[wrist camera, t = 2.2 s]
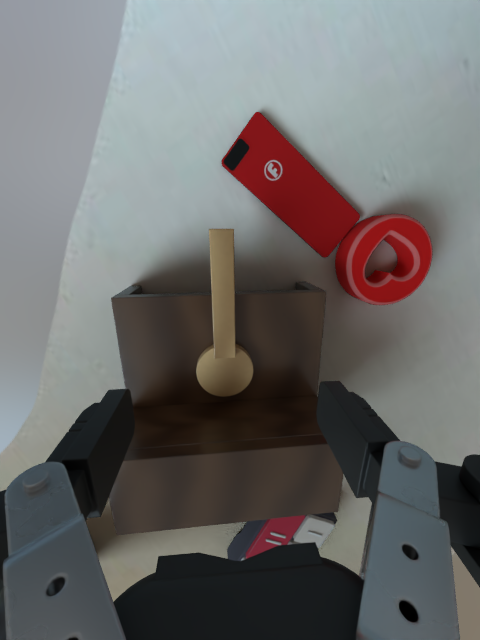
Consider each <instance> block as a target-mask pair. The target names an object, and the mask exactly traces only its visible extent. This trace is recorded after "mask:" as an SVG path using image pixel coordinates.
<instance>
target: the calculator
mask: <svg viewBox="0 0 480 640" xmlns="http://www.w3.org/2000/svg"><path fill="white" fill-rule="evenodd" d="M336 522H337V519H336V517H335V515H334V513H333V512H330V513H320V514H311V515H302V516H292V517H283V518H274V519H265V520H255V521H248V522H247V523H246V525H245V526H244V528H243V530H242V531H241V533H239V534H237V535H236V536H235V538H234V539H233V541H232V543H231V544H230V546H229V547H228V549H227V552H228V559H230V560H235V561H242V560H245V559H247V558H250V557H252V556H254V555H257V554H259V553H262V552H264V551H266V550H269V549H271V548H274V547H276V546H278V545H289V544H300V543H311V542H316V545H317V548H319V547H320V546H321V545H322V544H323V542H324V541H325V539H326V538H327V537H328V535H329V534H330V532H331V531H332V530H333V528H334V527H335V523H336Z"/></svg>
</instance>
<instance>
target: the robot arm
mask: <svg viewBox="0 0 480 640" xmlns="http://www.w3.org/2000/svg"><path fill="white" fill-rule="evenodd" d="M316 415H317V422H318V425H319V428H320V430H321V432H322V433H323V435H324V437H325V439H326V441H327V443H328V445H329V447H330V449H331V451H332V453H333V454H334V456H335V458H336V460H337V462H338V464H339V466H340V468H341V470H342V472H343V474H344V475H345V477H346V479H347V481H348V483H349V485H350V487H351V489H352V491H353V493H354V495H355V496H356V498H363V497H369V498H370V500H371V502H372V506H371V511H370V517H369V522H368V528H367V534H366V540H365V545H364V551H363V557H362V562H361V568H360V573H359V576H358V575H357V574H356V573H354V572H353V571H351V570H350V569H348V568H346V567H345V566H343V565H341V564H339V563H337V562H335V561H332V560H329V559H326V558H322V557H320V555H319V551H318V548H317V545H316V542H311V543H300V544H289V545H278V546H276V547H274V548H271V549H269V550H266V551H264V552H262V553H259V554H257V555H254V556H252V557H250V558H247V559H245V560H242V561H235V560H230V559H225V558H221V557H216V556H211V555H207V554H202V553H190V554H179V555H168V556H159V557H158V563H157V568H156V573H153V574H151V575H149V576H147V577H145V578H143V579H141V580H140V581H138V582H137V583H135V584H134V585H132V586H131V587H130V588H128V589H127V590H126V591H125V592H124V593H122V594H121V595H120V596H119V597H118V598H117V599H116V600H115V601H114V602H113V600H112V597H111V594H110V591H109V588H108V585H107V582H106V580H105V577H104V574H103V571H102V568H101V565H100V562H99V559H98V556H97V553H96V550H95V547H94V545H93V542H92V539H91V536H90V533H89V530H88V527H87V524H86V520H87V518H92V517H101V515H102V512H103V510H104V507H105V505H106V502H107V500H108V497H109V495H110V492H111V490H112V487H113V485H114V482H115V480H116V478H117V475H118V473H119V470H120V468H121V465H122V463H123V460H124V458H125V455H126V453H127V450H128V448H129V445H130V443H131V440H132V438H133V435H134V430H135V418H134V411H133V404H132V397H131V392H130V390H129V389H116V390H108V392H107V393H106V394H105V396H104V397H103V399H102V400H101V402H100V403H94V404H92V405H91V406H90V407H88V408H87V409H85V410H84V411H83V412H82V413H81V414H80V416H79V417H78V418H77V420H76V421H75V424H73V425H72V427H71V428H70V429H69V432H67V433H66V435H65V436H64V437H63V439H62V440H61V441H60V443H59V444H58V446H57V447H56V448H55V450H54V451H53V452H52V454H51V455H50V456H49V458H48V459H47V460H46V462H45V463H42V464H39V465H36V466H34V467H32V468H30V469H28V470H26V471H25V472H23V473H22V474H20V475H19V476H18V477H17V478H15V479H14V480H13V481H12V482H11V484H10V485H9V486H8V488H7V490H4V491H0V640H460V634H459V624H458V616H457V606H456V605H457V604H456V595H455V584H454V574H453V565H452V555H451V546H452V548H453V549H454V551H455V552H456V553H457V555H458V556H459V558H460V559H461V561H462V562H463V564H464V565H465V566H466V568H467V569H468V571H469V572H470V574H471V575H472V577H473V578H474V580H475V581H476V582H477V584H478V585H479V587H480V455H469V456H467V457H465V459H464V461H463V464H462V467H460V466H455V465H450V464H445V463H440V462H435V461H434V460H433V458H432V457H431V456H430V455H429V454H428V453H427V452H425V451H424V450H423V449H421V448H419V447H418V446H416V445H413V444H411V443H408V442H404V441H400V440H399V439H398V437H397V436H396V435H395V434H394V433H393V432H392V431H391V429H390V428H389V427H388V426H387V425H386V424H385V423H384V421H383V420H382V419H381V418H380V417H379V416H378V415H377V413H376V412H375V411H374V410H373V409H371V407H370V405H369V404H368V403H367V402H366V401H365V400H364V399H363V398H361V397H360V396H358V395H357V394H355V393H354V392H348V390H347V389H346V388H345V387H344V385H343V384H342V383H341V382H340V381H323V382H321V383H320V386H319V394H318V403H317V412H316Z"/></svg>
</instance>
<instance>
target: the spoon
mask: <svg viewBox="0 0 480 640" xmlns="http://www.w3.org/2000/svg"><path fill="white" fill-rule="evenodd" d="M209 241H210V265H211V290H212V314H213V338H214V344H213V345H211V346H209V347H208V348H207V349H205V350H204V351H203V353H202V354H201V355H200V357H199V359H198V362H197V369H196V374H197V379H198V381H199V383H200V385H201V386H202V387H203V389H205V390H206V391H207V392H209V393H211V394H213V395H216V396H222V397H226V396H232V395H235V394H237V393H239V392H241V391H243V390H244V389H245V388H246V387H247V386H248V384H249V383H250V381H251V379H252V376H253V363H252V360H251V358H250V355H249V354H248V352H247V351H246V350H245V349H244V348H243V347H241V346H239V345H237V344H235V279H234V229H209Z"/></svg>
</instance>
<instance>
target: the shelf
mask: <svg viewBox="0 0 480 640" xmlns="http://www.w3.org/2000/svg"><path fill="white" fill-rule="evenodd" d="M111 301H112V307H113V314H114V320H115V326H116V333H117V339H118V345H119V352H120V358H121V364H122V371H123V377H124V383H125V389H129V390H130V392H131V397H132V404H133V411H134V418H135V430H134V435H133V438H132V440H131V443H130V445H129V448H128V450H127V453H126V455H125V458H124V460H123V463H122V465H121V468H120V470H119V473H118V475H117V478H116V480H115V482H114V485H113V487H112V490H111V492H110V495H109V500H110V505H111V510H112V515H113V520H114V524H115V529H116V534H117V535H125V534H134V533H144V532H153V531H162V530H171V529H181V528H190V527H199V526H209V525H218V524H227V523H237V522H246V521H255V520H265V519H274V518H283V517H292V516H302V515H311V514H320V513H330V512H338V508H339V501H340V494H341V486H342V479H343V472H342V470H341V468H340V466H339V464H338V462H337V460H336V458H335V456H334V454H333V453H332V451H331V449H330V447H329V445H328V443H327V441H326V439H325V437H324V435H323V433H322V432H321V430H320V428H319V425H318V422H317V415H316V412H317V403H318V396H317V389H318V378H319V368H320V357H321V346H322V335H323V324H324V313H325V302H326V291H324V290H322V289H320V288H318V287H316V286H314V285H312V284H310V283H307V282H296V290H283V291H247V292H235V344H237V345H239V346H241V347H243V348H244V349H245V350H246V351H247V352H248V354H249V355H250V358H251V360H252V363H253V376H252V379H251V381H250V383H249V384H248V386H247V387H246V388H245V389H244V390H243V391H241V392H239V393H237V394H235V395H232V396H226V397H222V396H216V395H213V394H211V393H209V392H207V391H206V390H205V389H203V387H202V386H201V385H200V383H199V381H198V379H197V374H196V369H197V362H198V359H199V357H200V355H201V354H202V353H203V351H204V350H205V349H207V348H208V347H209V346H211V345H213V344H214V338H213V314H212V292H211V293H175V294H142V288H141V286H130V287H128V288H127V289H125V290H123V291H122V292H120V293H119V294H117V295H115V296H114V297H112V298H111Z"/></svg>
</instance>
